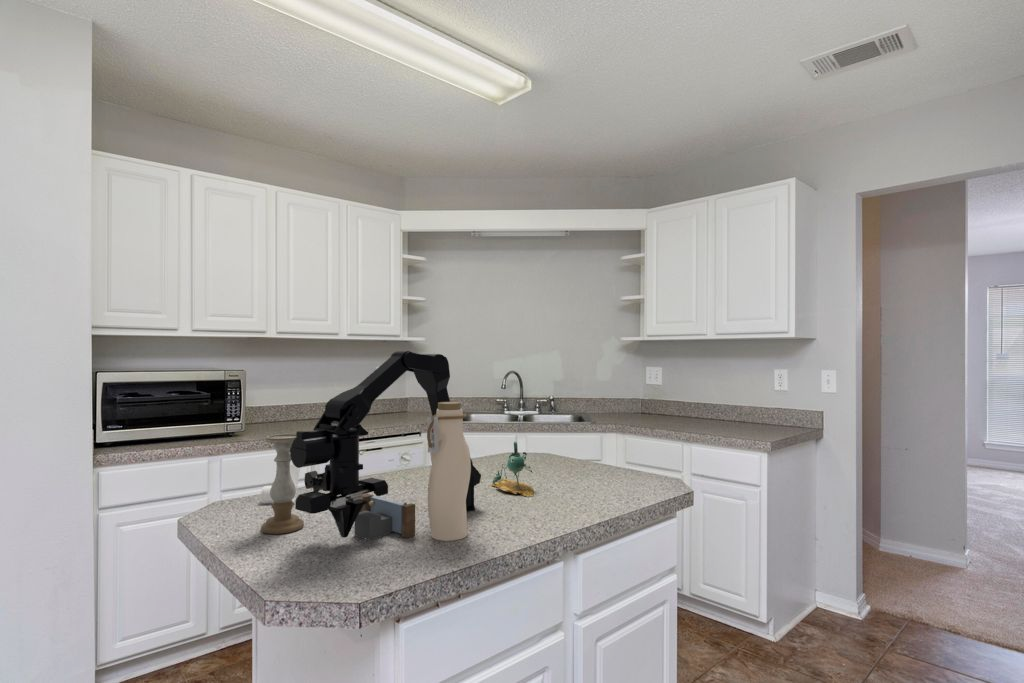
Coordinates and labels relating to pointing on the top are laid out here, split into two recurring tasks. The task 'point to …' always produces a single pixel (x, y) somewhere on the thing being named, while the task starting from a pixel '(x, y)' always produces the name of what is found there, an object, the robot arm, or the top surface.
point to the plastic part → (266, 489)
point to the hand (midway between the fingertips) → (344, 537)
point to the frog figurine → (515, 466)
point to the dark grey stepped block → (372, 524)
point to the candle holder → (282, 489)
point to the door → (388, 511)
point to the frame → (407, 516)
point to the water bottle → (448, 472)
